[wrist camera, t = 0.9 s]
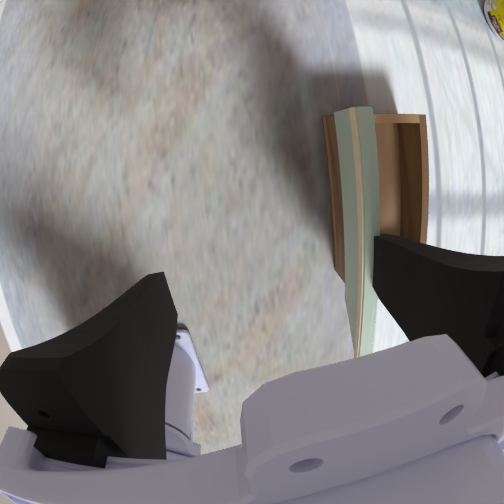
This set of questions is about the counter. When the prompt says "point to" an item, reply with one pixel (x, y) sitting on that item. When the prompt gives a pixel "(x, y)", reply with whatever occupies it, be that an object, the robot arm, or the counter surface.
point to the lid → (359, 218)
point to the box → (388, 179)
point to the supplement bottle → (495, 16)
